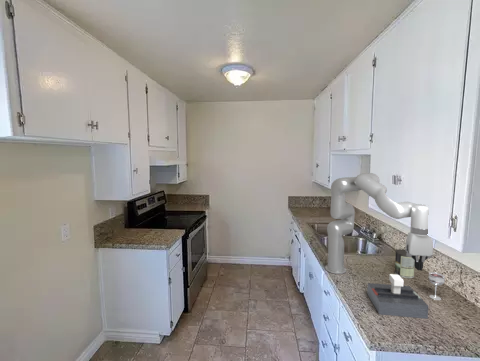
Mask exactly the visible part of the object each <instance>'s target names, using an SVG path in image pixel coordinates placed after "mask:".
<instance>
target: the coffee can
mask: <svg viewBox="0 0 480 361" xmlns="http://www.w3.org/2000/svg"><path fill="white" fill-rule="evenodd" d="M406 254H407V252H406V249H402V248H400V249H399V248H398V249H395V260H394V262H395V263H394V274H395V275H399V276H400V277H401V278H402V279H403V278H405V279H413V278H414V277H415V266H414V264H415V260H414V259H413V258H411V257H407V256H406Z"/></svg>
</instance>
